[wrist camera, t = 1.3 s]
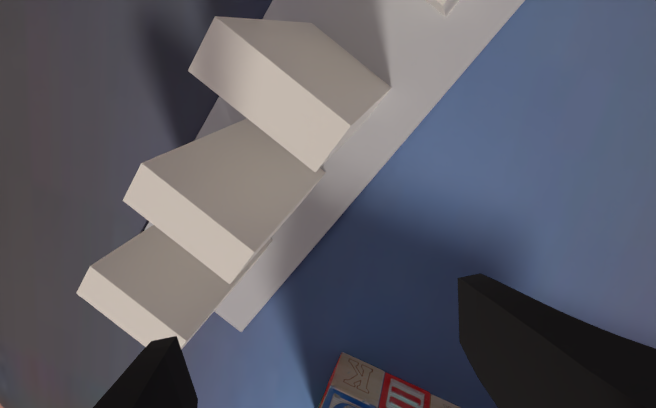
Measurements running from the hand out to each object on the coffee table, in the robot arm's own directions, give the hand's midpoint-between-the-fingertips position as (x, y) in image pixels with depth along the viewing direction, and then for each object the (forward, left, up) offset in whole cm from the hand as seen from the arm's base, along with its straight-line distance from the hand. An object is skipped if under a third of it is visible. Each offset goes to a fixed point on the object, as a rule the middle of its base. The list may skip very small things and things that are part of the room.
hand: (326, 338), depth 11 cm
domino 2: (+3, -5, -12) cm, 13 cm away
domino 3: (+8, -5, -12) cm, 16 cm away
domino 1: (-3, -5, -12) cm, 14 cm away
